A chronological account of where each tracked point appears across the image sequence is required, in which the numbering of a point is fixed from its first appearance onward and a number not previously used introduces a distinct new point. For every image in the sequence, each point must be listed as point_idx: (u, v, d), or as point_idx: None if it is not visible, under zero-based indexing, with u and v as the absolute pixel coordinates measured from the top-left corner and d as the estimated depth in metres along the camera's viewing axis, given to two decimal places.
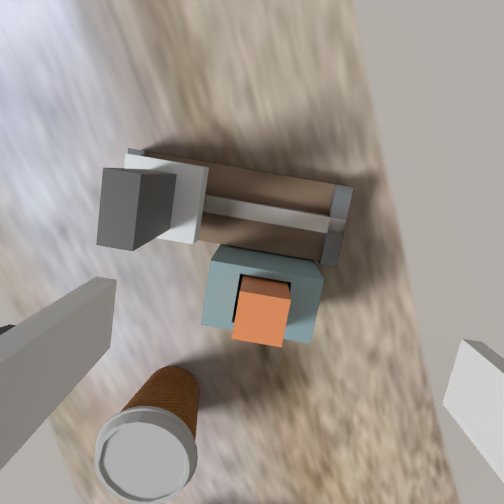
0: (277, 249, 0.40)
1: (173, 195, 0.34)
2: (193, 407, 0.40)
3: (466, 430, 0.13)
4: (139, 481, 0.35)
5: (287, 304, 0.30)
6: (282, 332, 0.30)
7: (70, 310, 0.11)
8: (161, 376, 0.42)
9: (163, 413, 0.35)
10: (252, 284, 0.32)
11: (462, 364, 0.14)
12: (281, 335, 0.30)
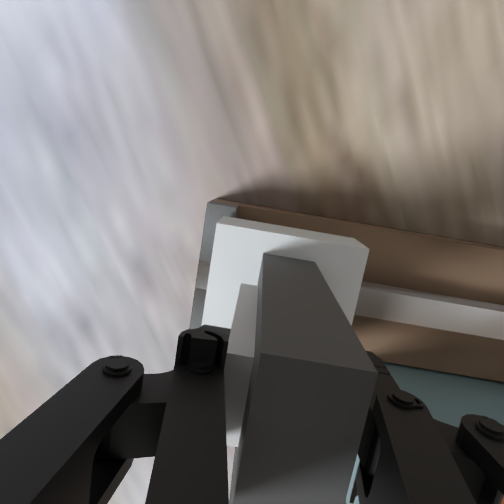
0: (450, 365, 0.24)
1: None
2: None
3: None
4: None
5: None
6: None
7: (254, 312, 0.13)
8: None
9: None
10: None
11: None
12: None
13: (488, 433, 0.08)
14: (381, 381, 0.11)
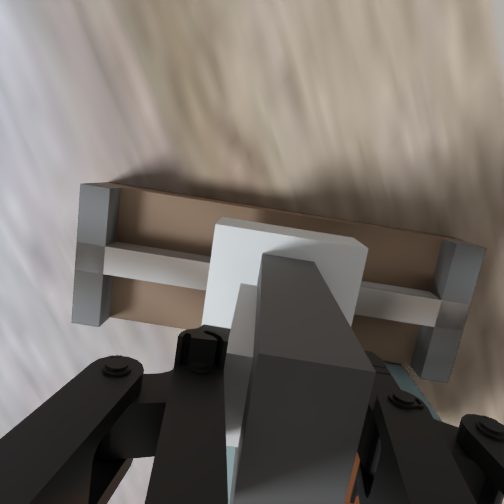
0: None
1: None
2: None
3: None
4: None
5: None
6: None
7: (254, 312, 0.13)
8: None
9: None
10: None
11: None
12: None
13: (489, 433, 0.08)
14: (381, 382, 0.11)
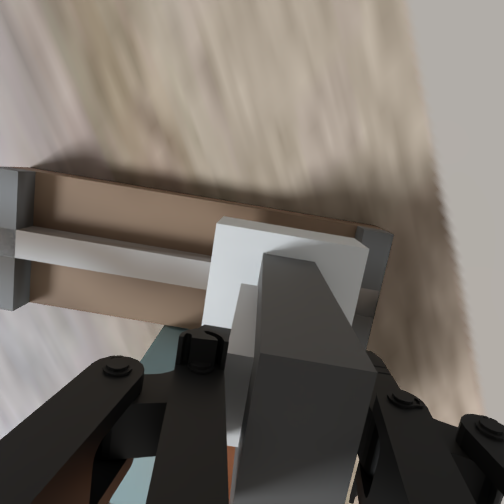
0: None
1: None
2: None
3: None
4: None
5: None
6: None
7: (254, 312, 0.13)
8: None
9: None
10: None
11: None
12: None
13: (489, 433, 0.08)
14: (381, 381, 0.11)
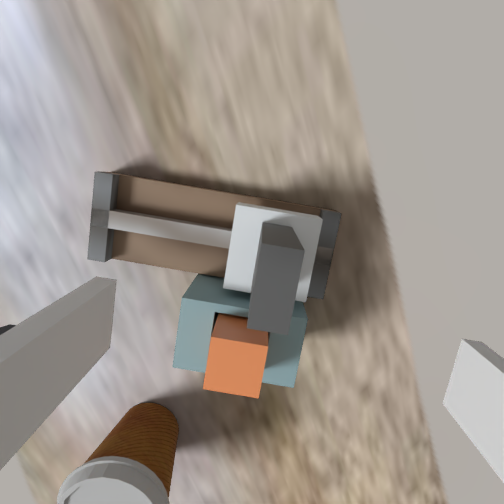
0: None
1: None
2: (169, 451, 0.37)
3: (466, 430, 0.13)
4: None
5: (264, 351, 0.26)
6: (259, 382, 0.27)
7: (70, 310, 0.11)
8: (136, 416, 0.39)
9: (131, 465, 0.31)
10: (227, 325, 0.29)
11: (462, 364, 0.14)
12: (258, 385, 0.27)
13: None
14: None
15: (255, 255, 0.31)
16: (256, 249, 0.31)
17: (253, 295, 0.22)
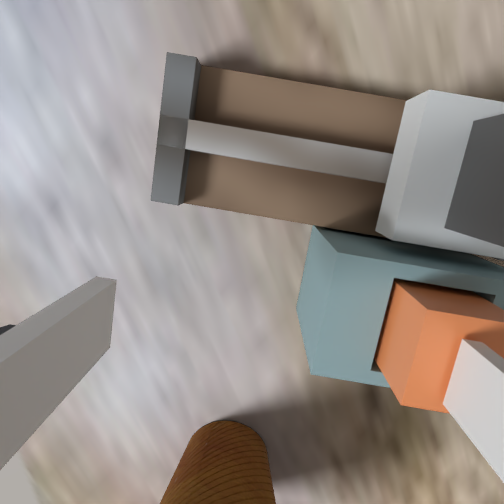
0: None
1: None
2: (273, 501, 0.24)
3: (466, 430, 0.13)
4: None
5: None
6: None
7: (70, 310, 0.11)
8: (215, 443, 0.26)
9: None
10: (425, 292, 0.17)
11: (461, 364, 0.14)
12: None
13: None
14: None
15: (454, 182, 0.18)
16: (457, 171, 0.18)
17: None
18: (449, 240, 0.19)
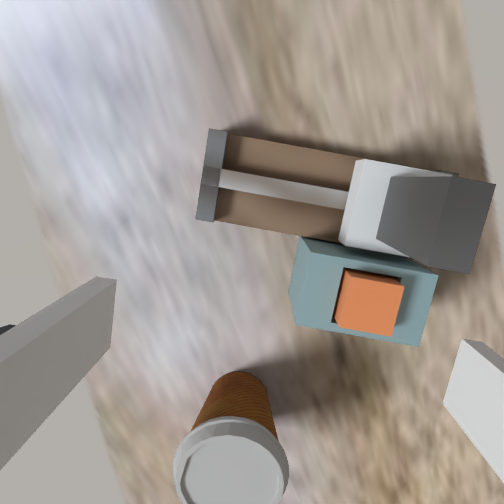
0: None
1: None
2: (272, 417, 0.36)
3: (466, 430, 0.13)
4: (224, 502, 0.31)
5: (400, 291, 0.28)
6: (393, 320, 0.29)
7: (70, 310, 0.11)
8: (232, 383, 0.38)
9: (253, 425, 0.31)
10: (355, 270, 0.31)
11: (462, 364, 0.14)
12: (392, 324, 0.29)
13: None
14: None
15: (381, 211, 0.31)
16: (382, 205, 0.31)
17: (437, 231, 0.21)
18: (379, 246, 0.31)
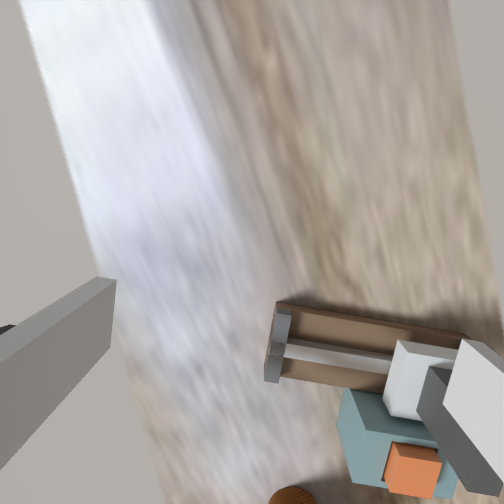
0: None
1: None
2: None
3: (466, 430, 0.13)
4: None
5: (439, 466, 0.36)
6: (432, 487, 0.36)
7: (70, 310, 0.11)
8: (291, 503, 0.46)
9: None
10: None
11: (461, 364, 0.14)
12: (432, 490, 0.36)
13: None
14: None
15: (420, 391, 0.38)
16: (421, 386, 0.38)
17: (475, 468, 0.28)
18: (418, 416, 0.39)
